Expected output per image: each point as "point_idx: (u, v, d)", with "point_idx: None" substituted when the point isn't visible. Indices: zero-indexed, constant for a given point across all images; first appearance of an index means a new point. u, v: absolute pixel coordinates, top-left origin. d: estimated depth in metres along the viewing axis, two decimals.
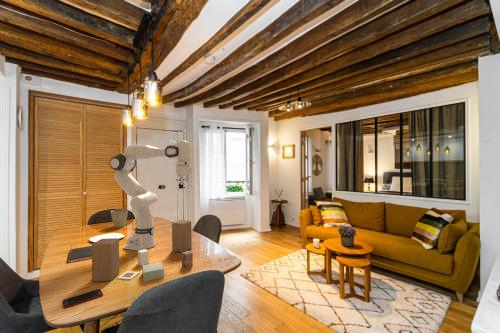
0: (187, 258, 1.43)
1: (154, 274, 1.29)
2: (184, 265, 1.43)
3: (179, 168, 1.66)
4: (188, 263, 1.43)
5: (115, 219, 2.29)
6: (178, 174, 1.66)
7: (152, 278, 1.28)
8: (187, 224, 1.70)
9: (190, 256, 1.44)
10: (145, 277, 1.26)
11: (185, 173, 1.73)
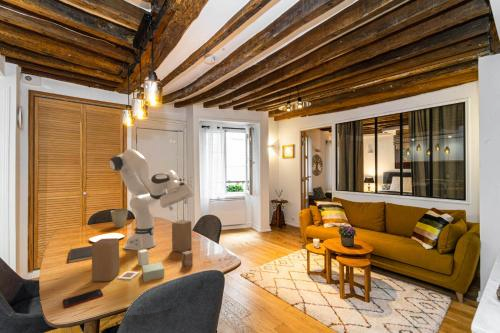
0: (187, 258, 1.43)
1: (154, 274, 1.29)
2: (184, 265, 1.43)
3: None
4: (188, 263, 1.43)
5: (115, 219, 2.29)
6: (191, 192, 1.53)
7: (152, 278, 1.28)
8: (187, 224, 1.70)
9: (190, 256, 1.44)
10: (145, 277, 1.26)
11: None
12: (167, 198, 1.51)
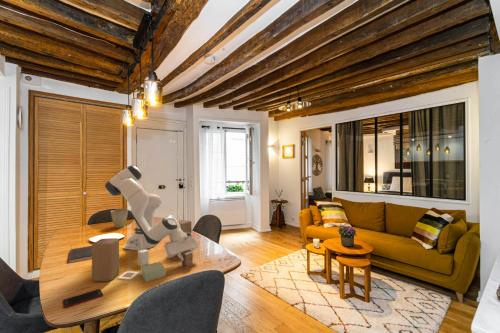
0: (187, 258, 1.43)
1: (156, 274, 1.29)
2: (184, 265, 1.43)
3: None
4: (188, 263, 1.43)
5: (115, 219, 2.29)
6: None
7: (154, 278, 1.28)
8: (187, 224, 1.70)
9: (190, 256, 1.44)
10: (147, 277, 1.26)
11: None
12: (176, 247, 1.44)
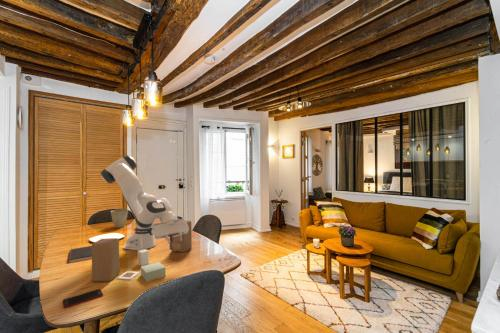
0: (174, 240, 1.37)
1: (156, 274, 1.29)
2: (171, 248, 1.38)
3: None
4: (175, 246, 1.37)
5: (115, 219, 2.29)
6: None
7: (154, 278, 1.28)
8: (187, 224, 1.70)
9: (178, 239, 1.38)
10: (148, 277, 1.26)
11: None
12: (163, 229, 1.39)
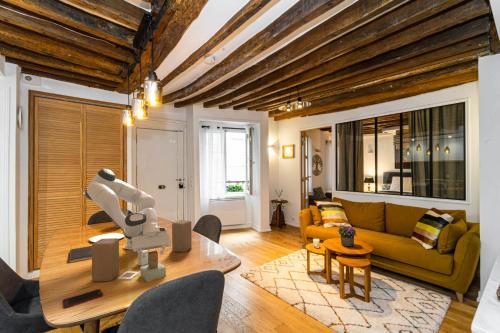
0: (150, 258, 1.30)
1: (157, 273, 1.29)
2: (148, 266, 1.31)
3: None
4: (151, 264, 1.30)
5: None
6: (170, 242, 1.40)
7: (155, 278, 1.29)
8: (187, 224, 1.70)
9: (155, 257, 1.31)
10: (148, 277, 1.26)
11: None
12: (142, 242, 1.34)
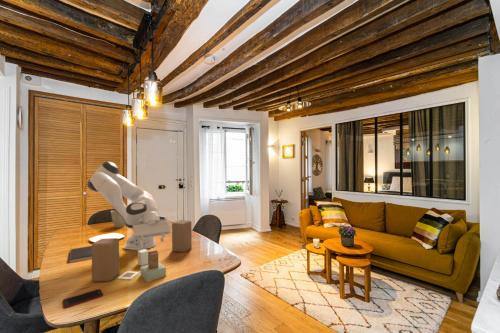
0: (151, 258, 1.30)
1: (157, 273, 1.29)
2: (149, 266, 1.31)
3: None
4: (152, 264, 1.30)
5: (115, 219, 2.29)
6: None
7: (155, 278, 1.29)
8: (187, 224, 1.70)
9: (155, 257, 1.31)
10: (148, 277, 1.26)
11: None
12: (143, 229, 1.40)
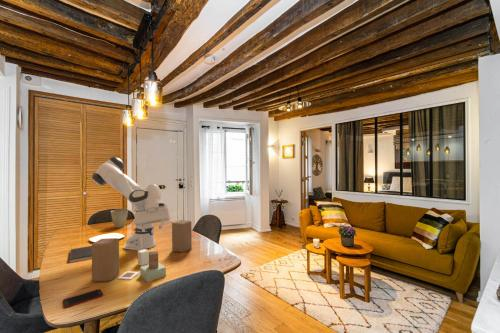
0: (151, 259, 1.30)
1: (157, 273, 1.29)
2: (149, 266, 1.31)
3: None
4: (152, 264, 1.30)
5: (115, 219, 2.29)
6: (169, 217, 1.45)
7: (155, 278, 1.29)
8: (187, 224, 1.70)
9: (155, 257, 1.31)
10: (148, 277, 1.26)
11: None
12: (142, 217, 1.43)
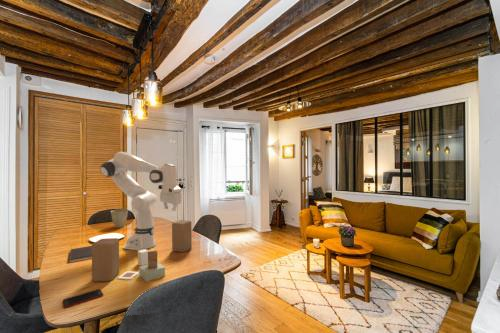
0: (150, 258, 1.30)
1: (156, 273, 1.29)
2: (148, 266, 1.32)
3: (179, 195, 1.52)
4: (151, 264, 1.31)
5: (115, 219, 2.29)
6: (178, 202, 1.52)
7: (154, 277, 1.29)
8: (187, 224, 1.70)
9: (154, 257, 1.31)
10: (147, 277, 1.26)
11: None
12: (163, 197, 1.60)
